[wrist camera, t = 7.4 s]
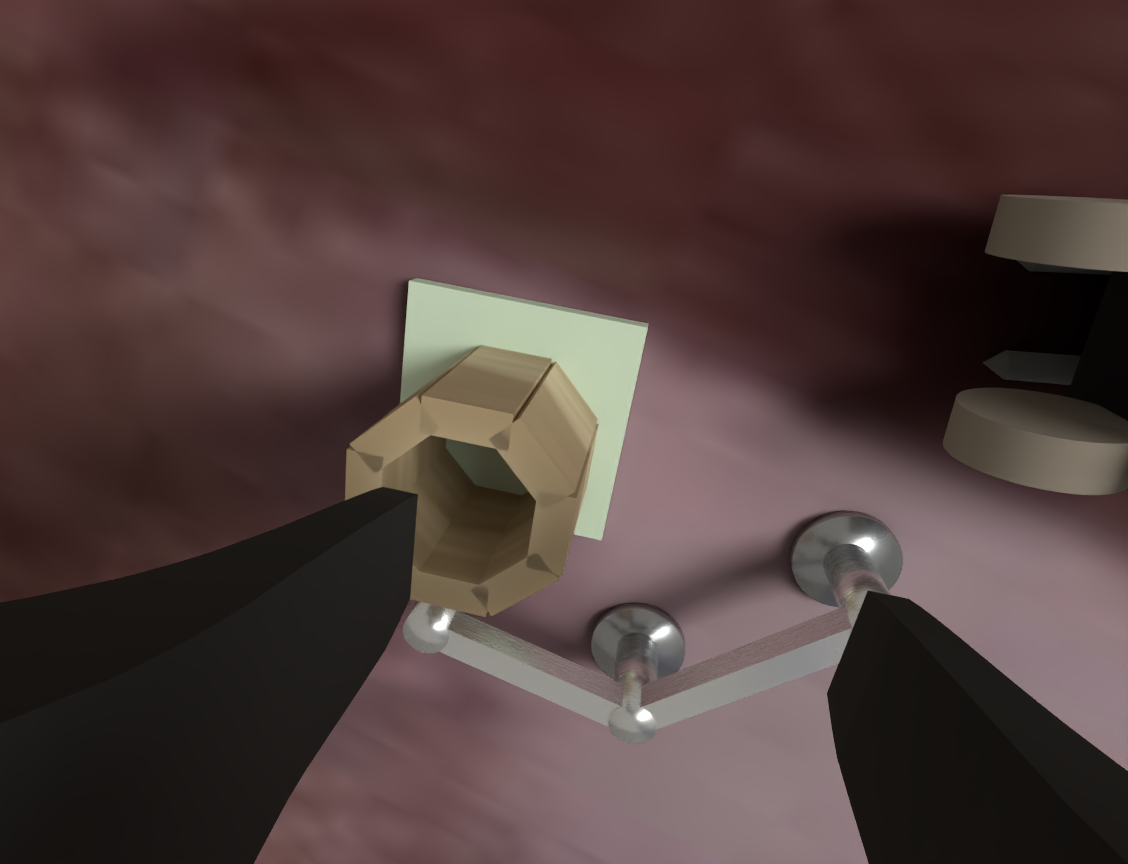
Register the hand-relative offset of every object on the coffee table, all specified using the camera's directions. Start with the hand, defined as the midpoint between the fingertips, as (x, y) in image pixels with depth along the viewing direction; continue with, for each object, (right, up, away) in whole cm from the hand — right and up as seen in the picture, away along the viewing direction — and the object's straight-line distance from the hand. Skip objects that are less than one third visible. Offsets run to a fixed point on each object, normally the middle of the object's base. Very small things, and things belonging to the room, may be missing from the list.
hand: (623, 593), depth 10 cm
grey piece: (+3, -3, +11) cm, 12 cm away
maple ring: (-3, +2, +10) cm, 10 cm away
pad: (-3, +3, +10) cm, 11 cm away
